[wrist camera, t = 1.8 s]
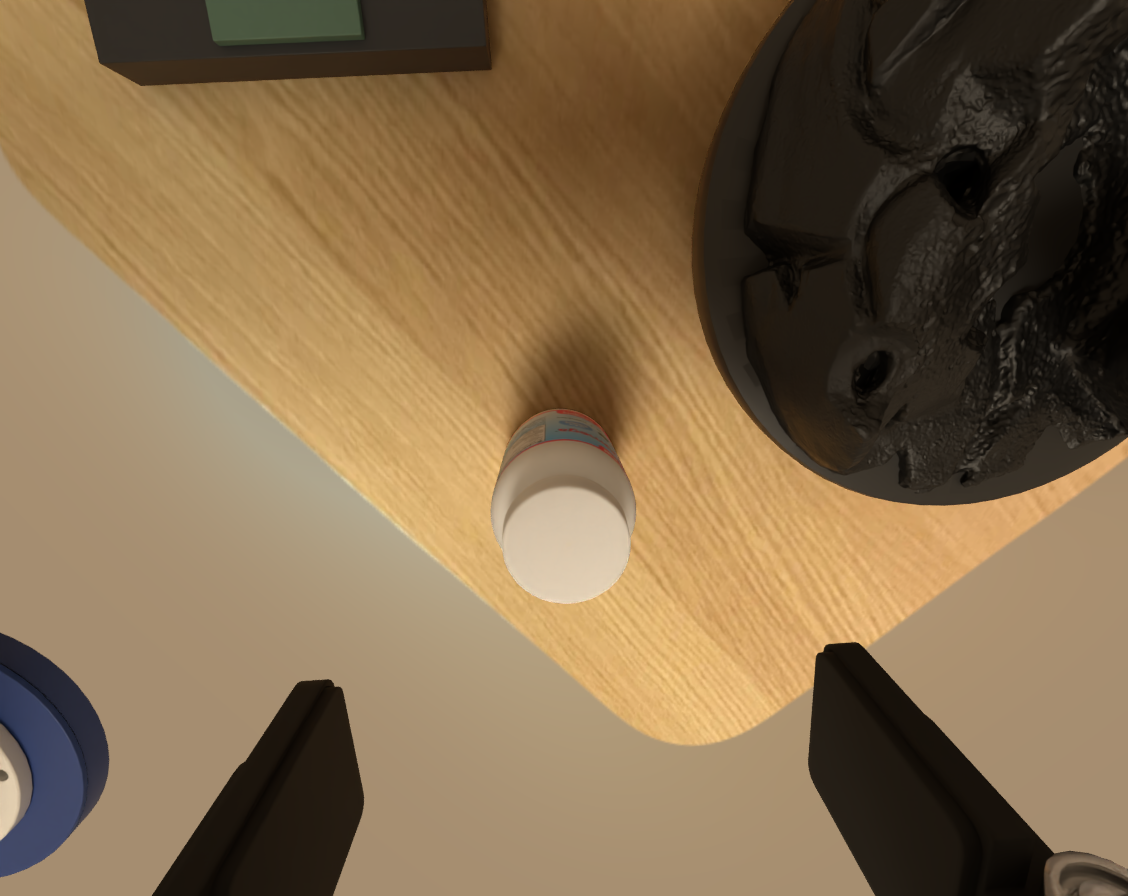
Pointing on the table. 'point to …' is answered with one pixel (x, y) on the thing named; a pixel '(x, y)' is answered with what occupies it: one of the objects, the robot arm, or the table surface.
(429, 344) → the table surface
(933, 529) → the table surface
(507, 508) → the pill bottle
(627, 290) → the table surface
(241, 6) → the scale
